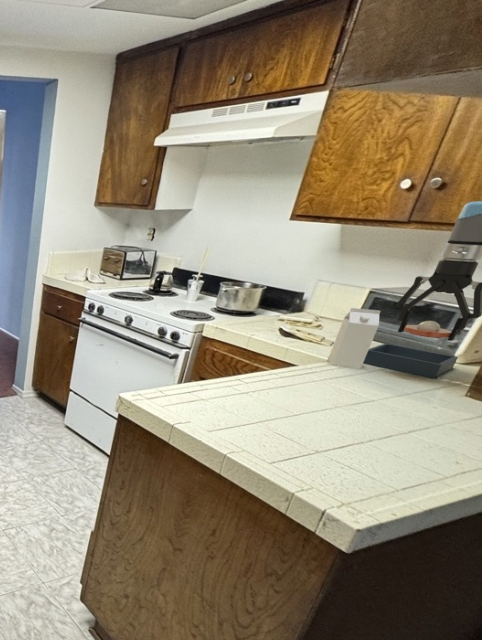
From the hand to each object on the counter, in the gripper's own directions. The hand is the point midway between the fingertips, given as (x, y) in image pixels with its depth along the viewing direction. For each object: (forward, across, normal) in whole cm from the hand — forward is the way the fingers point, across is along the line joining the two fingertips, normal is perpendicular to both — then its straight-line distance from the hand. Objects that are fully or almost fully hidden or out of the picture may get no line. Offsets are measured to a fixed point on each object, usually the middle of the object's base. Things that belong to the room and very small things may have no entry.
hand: (424, 335), depth 141 cm
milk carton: (+14, -15, -2) cm, 20 cm away
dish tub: (+14, -3, +13) cm, 19 cm away
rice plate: (0, 0, 0) cm, 0 cm away
